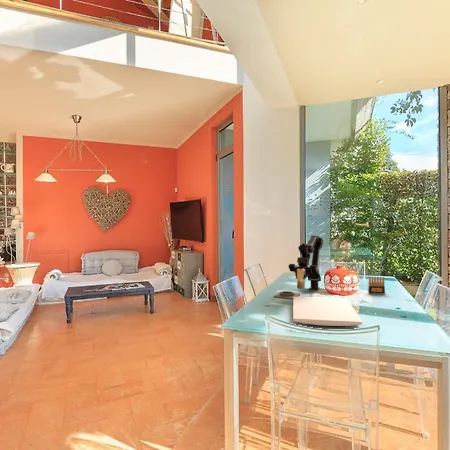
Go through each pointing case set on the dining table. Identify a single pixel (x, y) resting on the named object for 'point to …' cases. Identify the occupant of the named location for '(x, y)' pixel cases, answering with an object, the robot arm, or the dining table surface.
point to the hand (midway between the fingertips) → (300, 278)
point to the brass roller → (300, 278)
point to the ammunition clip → (376, 285)
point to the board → (324, 311)
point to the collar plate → (287, 295)
